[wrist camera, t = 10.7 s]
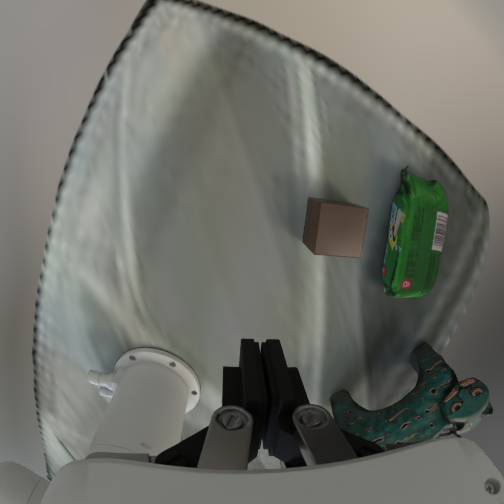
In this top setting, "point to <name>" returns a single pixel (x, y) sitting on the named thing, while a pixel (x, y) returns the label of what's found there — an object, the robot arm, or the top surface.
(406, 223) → the snack package
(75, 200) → the top surface
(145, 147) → the top surface
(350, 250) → the walnut block
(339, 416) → the ceramic cat
